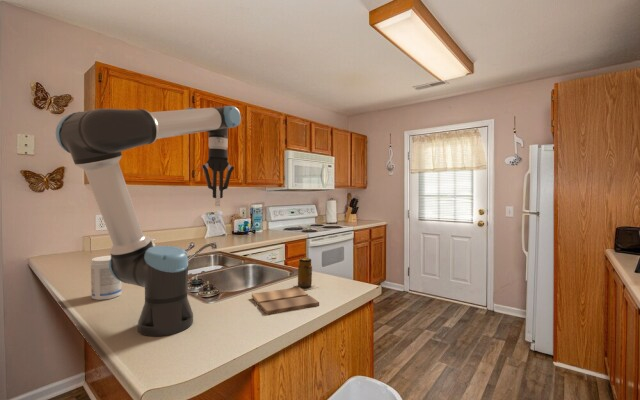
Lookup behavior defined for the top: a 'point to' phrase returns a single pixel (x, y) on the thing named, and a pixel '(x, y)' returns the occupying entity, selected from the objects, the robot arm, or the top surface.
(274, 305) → the floor board
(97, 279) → the supplement tub
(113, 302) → the top surface
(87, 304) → the top surface
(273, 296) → the board
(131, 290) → the top surface
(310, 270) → the condiment
